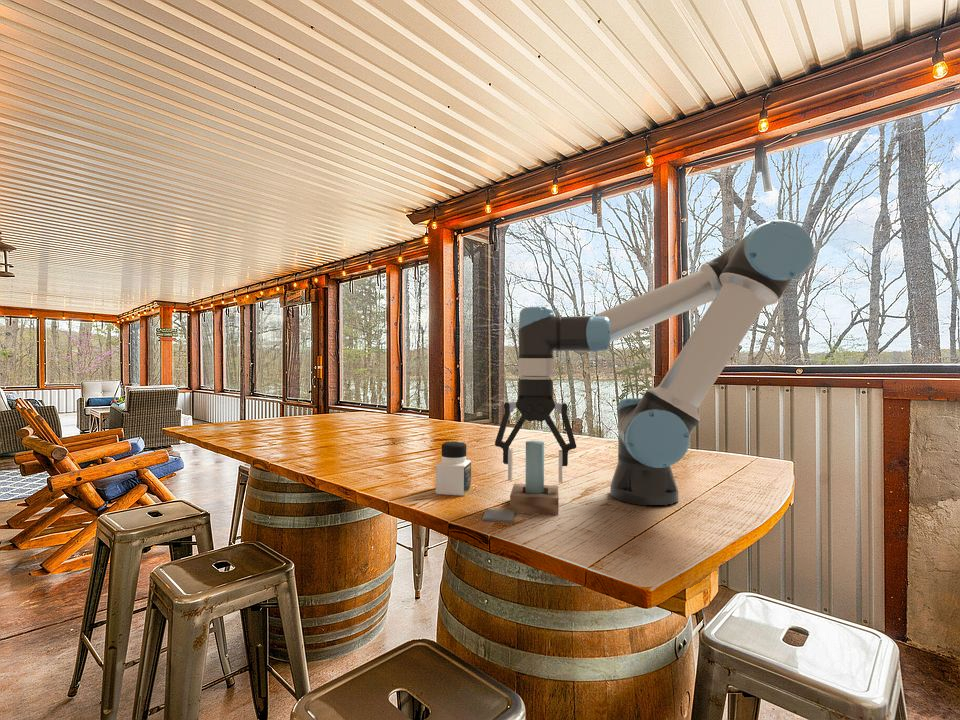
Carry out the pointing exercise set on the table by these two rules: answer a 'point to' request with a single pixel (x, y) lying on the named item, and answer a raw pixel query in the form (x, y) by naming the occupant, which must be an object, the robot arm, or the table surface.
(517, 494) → the socket block
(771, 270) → the robot arm
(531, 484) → the peg
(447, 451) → the medicine bottle
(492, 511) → the coaster
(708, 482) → the table surface
